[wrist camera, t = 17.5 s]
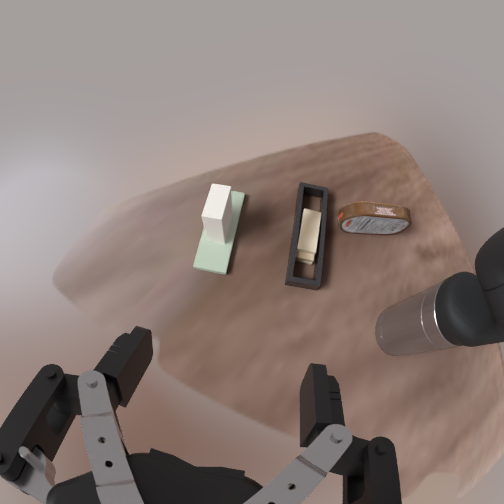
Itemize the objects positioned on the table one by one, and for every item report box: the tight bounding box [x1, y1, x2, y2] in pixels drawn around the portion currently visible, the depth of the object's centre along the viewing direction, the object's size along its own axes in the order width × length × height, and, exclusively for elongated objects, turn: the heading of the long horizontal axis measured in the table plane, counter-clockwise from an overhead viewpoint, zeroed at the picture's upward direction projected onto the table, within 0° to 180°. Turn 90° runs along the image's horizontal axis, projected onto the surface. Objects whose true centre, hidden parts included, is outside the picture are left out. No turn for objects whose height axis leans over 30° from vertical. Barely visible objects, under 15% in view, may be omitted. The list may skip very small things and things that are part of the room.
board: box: [193, 191, 245, 275], centre depth 49 cm, size 6×16×1 cm, turn 169°
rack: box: [285, 182, 328, 290], centre depth 49 cm, size 6×20×2 cm, turn 169°
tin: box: [337, 201, 411, 235], centre depth 47 cm, size 15×3×8 cm, turn 89°
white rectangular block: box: [202, 184, 232, 244], centre depth 45 cm, size 3×6×8 cm, turn 169°
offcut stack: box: [295, 209, 321, 265], centre depth 48 cm, size 3×10×3 cm, turn 167°
